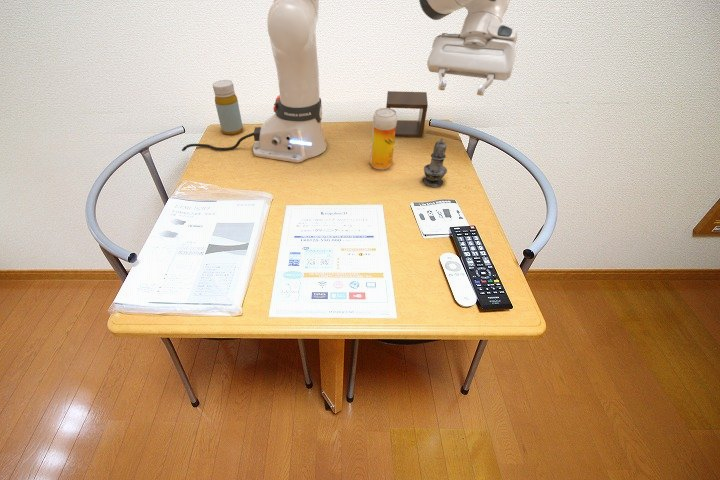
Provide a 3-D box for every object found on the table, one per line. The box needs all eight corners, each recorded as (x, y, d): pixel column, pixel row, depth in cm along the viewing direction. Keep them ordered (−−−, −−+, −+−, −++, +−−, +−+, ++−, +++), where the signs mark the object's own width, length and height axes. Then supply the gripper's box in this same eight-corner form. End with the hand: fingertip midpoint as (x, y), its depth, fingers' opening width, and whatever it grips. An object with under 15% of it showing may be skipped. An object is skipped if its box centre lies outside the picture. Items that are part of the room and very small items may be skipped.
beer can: (392, 170, 101) (399, 116, 90) (370, 170, 101) (374, 117, 90) (390, 159, 105) (396, 106, 94) (369, 159, 105) (372, 107, 94)
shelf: (383, 135, 115) (386, 103, 108) (384, 122, 122) (387, 91, 115) (422, 137, 114) (427, 104, 106) (421, 123, 120) (426, 92, 113)
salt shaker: (444, 188, 94) (455, 145, 85) (421, 186, 95) (429, 143, 86) (443, 176, 98) (454, 133, 89) (421, 174, 99) (429, 132, 90)
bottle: (217, 132, 121) (206, 85, 110) (231, 124, 125) (221, 78, 114) (233, 137, 118) (223, 89, 107) (247, 128, 122) (238, 81, 111)
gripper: (435, 24, 90) (418, 79, 91) (525, 31, 83) (504, 90, 84) (437, 40, 96) (420, 92, 97) (520, 47, 89) (501, 103, 90)
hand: (460, 91), depth 90 cm, fingers open, 8 cm apart
